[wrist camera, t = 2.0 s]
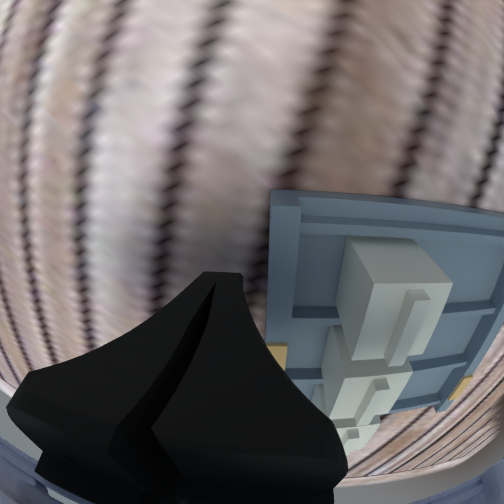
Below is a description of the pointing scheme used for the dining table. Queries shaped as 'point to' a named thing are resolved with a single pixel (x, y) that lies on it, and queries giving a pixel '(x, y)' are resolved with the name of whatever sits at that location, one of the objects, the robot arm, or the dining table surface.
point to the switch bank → (328, 273)
